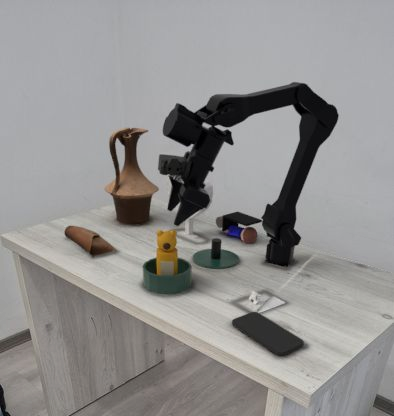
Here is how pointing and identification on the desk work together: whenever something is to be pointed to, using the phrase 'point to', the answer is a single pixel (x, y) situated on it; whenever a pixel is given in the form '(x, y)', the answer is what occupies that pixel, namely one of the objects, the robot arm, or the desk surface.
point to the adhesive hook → (255, 297)
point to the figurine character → (232, 228)
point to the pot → (167, 278)
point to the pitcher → (130, 180)
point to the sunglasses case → (89, 240)
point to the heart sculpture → (189, 221)
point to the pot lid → (215, 257)
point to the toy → (167, 253)
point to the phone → (268, 333)
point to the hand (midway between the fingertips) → (172, 217)
